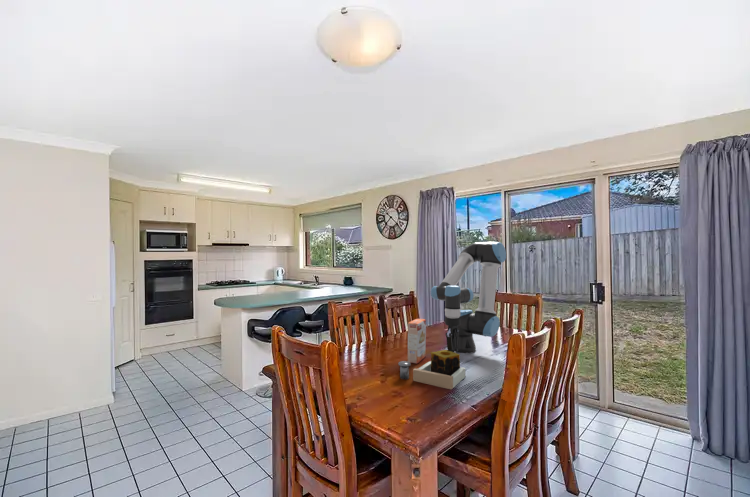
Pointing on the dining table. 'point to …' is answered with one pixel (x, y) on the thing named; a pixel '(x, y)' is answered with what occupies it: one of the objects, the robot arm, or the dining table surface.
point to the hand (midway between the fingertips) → (452, 364)
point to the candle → (445, 362)
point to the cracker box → (416, 340)
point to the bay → (437, 377)
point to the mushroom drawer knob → (404, 369)
